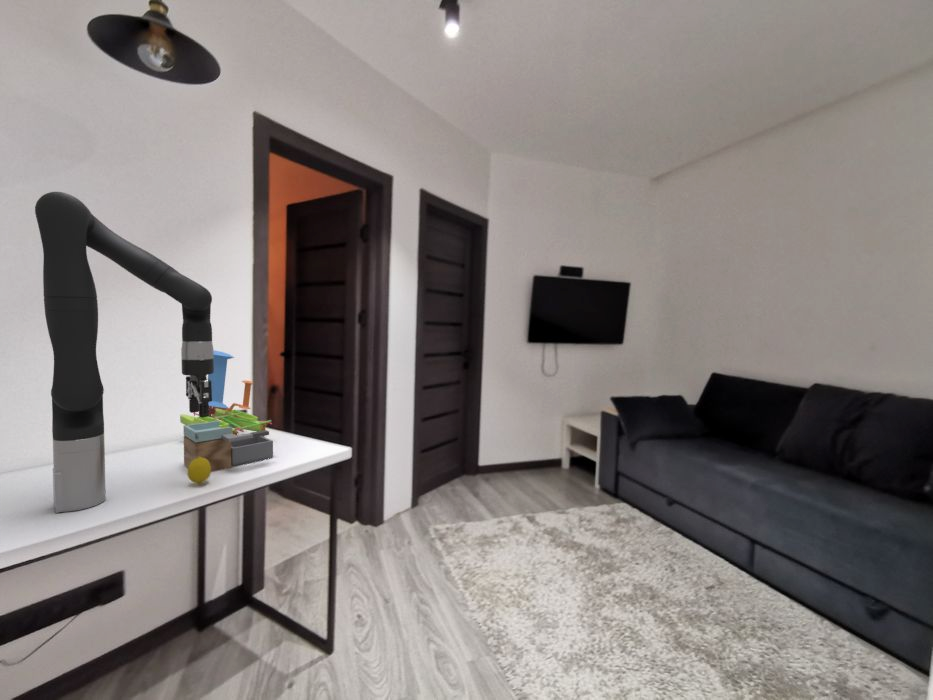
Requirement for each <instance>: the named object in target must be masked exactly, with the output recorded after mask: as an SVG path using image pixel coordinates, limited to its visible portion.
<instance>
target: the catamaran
mask: <svg viewBox="0 0 933 700" xmlns="http://www.w3.org/2000/svg"><path fill="white" fill-rule="evenodd" d="M213 353H214V373H212V374H207V380H211V386H212V401H211V402H210V403H209V416H208V417H202V418H201V417H199V413H198V412H194V413H192V414H193V415H189V414H180V416H179V417H180V418H179V421H180V423H181V424H182V425H183V426H184V425H192V424H199V423H206V422H213V421H219V427H220V428H226V427H230V426H231V427H232V434H234V435H238V433H239V432H241V433H244V432H245V431H251V432H258V431H264V430H266V428H267V426H268V424H269V425H273V423H272V419H269V420H260V421H259V420H258V419H259V417H258V416H257V415H253V414H250V413H247V412H245V411H240V410H237V409H234V407H235V406H236V407H238V408H240V409H244V410H251V407H250V399H251V398H250V397H251V389H252V385H254V382H253V381H250V380H242V381H241V383H244V389H243V398H242V399H243V400H242V404H240V403H236V402H233V403H232V404H231V406H230V407H228V406H227V405H226V404H225V403H224V396H225V395H224V394H225V387H226V386H225V384H226V377H227V376H226V375H227V368H228V367H227V365H228V360H230V359H234V358H235V357H234V356H233V355H231V354H230V353H227V352H223V351H219V350H215V349H213ZM263 437H265V438H266V435H265V436H263Z"/></svg>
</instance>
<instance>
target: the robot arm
mask: <svg viewBox="0 0 933 700" xmlns="http://www.w3.org/2000/svg"><path fill="white" fill-rule="evenodd" d="M34 214H35V217H36V218H35V219H36V222H37V225H38V230H39V234H40V235H39V236H40V240H41V244H42V246H41V247H42V252H43V254H42V255H43V263H42V265H43V266H42V267H43V268H42V270H43V271H42V274H43V275H42V278H43V280H42V281H43V283H42V285H43V305H44V314H45V321H46V327H47V331H48V335H49V339H50V344H51V347H52V352H53V353H52V354H53V376H52V385H51V390H50V395H51V407H52V409H51V410H52V412H51V413H52V420H51V421H52V422H51V423H52V426H51V428H52V429H51V430H52V454H53V458H52V459H53V468H52V483H53V484H52V486H53V491H52V492H53V508H54V511H55V514H57V513H62V512H66V513H67V512H75V511H76V512H77V511H79V510H85V509H88V508H92V507H95V506H97V505H100V504H102V503H103V502H104V501H105V500H106V498H107V497H106V495H107V494H106V492H107V491H106V458H105V457H106V452H105V450H106V449H105V446H106V445H105V419H104V392H105V391H104V390H105V389H104V385H103V382H102V379H101V374H100V370H99V364H98V359H97V344H98V343H97V341H98V333H99V332H98V329H99V308H98V307H99V303H98V295H97V289H96V285H95V280H94V277H93V274H92V270H91V266H90V263H89V260H88V254H87V247H88V248H89V249H92V250H94V251H96V252H97V253H99V254H101V255H103V256H105V258H107V259H109V260H111V261H112V262H114V264H116V265H118V266H120V267H121V268H123V269H124V270H125V271H127V272H128V273H130V274H131V275H133V276H134V277H136V278H137V279H138V280H141V281H142V282H144V283H145V284H147V285H149V286H150V287H152V288H153V289H156V290H158V292H160V293H161V292H162V293H164V294H166V295H167V296H169V297H170V298H172V299H174V300H175V301H176V302H178V303H180V304H181V312H182V324H181V326H182V327H181V349H180V351H181V374H182V375H183V376H185V389H186V390H185V396H186V397H187V399H188V405H189V406H188V408H189V413H191V414H193V413H194V412H195V413H198V414H199V416H198V417H201V418H202V417H208V416H209V403H210V402H211V401H212V386H211V380H208V377H207V376H208V374H212V373H214V353H213V350H214V345H213V327H212V323H211V314H212V313H211V307H212V306H211V305H212V303H213V302H212V301H213V296H212V294H211V292H210V291H209V290H208V289H207V288H206V287H204V286H203V285H201V284H200V283H198V282H196V281H195V280H193V279H191V278H189V277H187V276H186V275H183V274H182V273H180V272H179V271H178V270H177V269H175V268H174V267H172V266H170V265H169V264H167V262H165V261H163V260H162V259H160V258H158V257H157V256H155V255H153V254H152V253H150V252H149V251H147V250H146V249H145V250H144V249H143V248H142V247H139V246H137V245H136V244H134V243H132V242H130V241H128V240H127V239H125V238H123V237H122V236H121V235H119V234H117V233H115V232H114V231H113V230H111V228H109V227H108V226H106V225H105V224H104V223H103V222H102V221H100V220H99V219H98V218H97V217H96V216H94V215H93V214H92V212H91V210H90V209H89V208H88V206H87V205H85V203H84V202H83V201H81V200H80V199H78V198H77V197H75V196H74V195H71V194H69V193H66V192H62V191H49V192H48V193H47V192H46V193H44V194H42V195H41V196H40V197H39V198H38V200H36V202H35V206H34Z"/></svg>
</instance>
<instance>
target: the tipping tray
mask: <svg viewBox="0 0 933 700" xmlns="http://www.w3.org/2000/svg"><path fill="white" fill-rule="evenodd" d="M232 428H233V426H229V427H226V428H220V427H219V421H213V422H206V423H199V424H192V425H184V424H183V436H186V437H188V438H189V439H191V440H193V441H194V442H202V441H208V440H214V439H220V438H222V439H224V440H226V441H228V442H231V441H237V440H243V439H248V438H254V437H260V436H265V437H266V436H269V435H270V431H269V430H267V429H265V430H264V431H258V432H257V431H251V432H248V433H242V434H237V435H234V434H232Z"/></svg>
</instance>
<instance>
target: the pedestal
mask: <svg viewBox="0 0 933 700" xmlns="http://www.w3.org/2000/svg"><path fill="white" fill-rule="evenodd" d="M197 457H202V458H205V459H207V460H208V461H209V463H210V466H211V473H213V472H217V471H221V470H225V469H230V468H232V466H231V442H228V441H226V440H224V439H222V438H220V439H214V440H208V441H202V442H194V441H193V440H191V439H189V438H188V437H186V436H185V435H183V466H184V467H186V469H188V467H189V464H190V463H191V462H192V461H193V460H194V459H196V458H197Z"/></svg>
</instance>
